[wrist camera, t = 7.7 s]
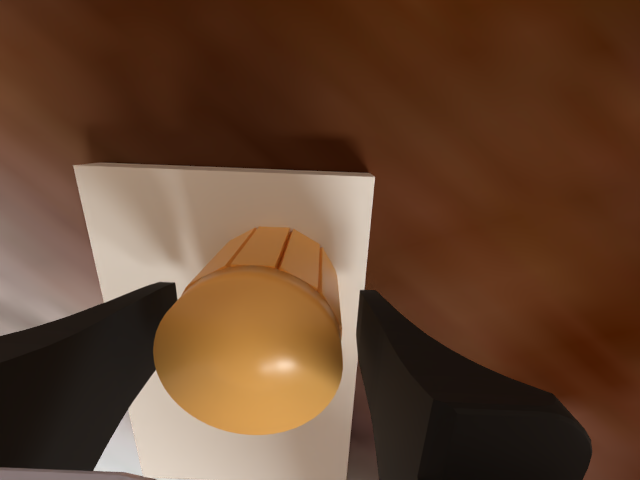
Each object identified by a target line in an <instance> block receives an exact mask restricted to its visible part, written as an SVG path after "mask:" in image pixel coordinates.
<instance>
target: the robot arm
mask: <svg viewBox="0 0 640 480" xmlns="http://www.w3.org/2000/svg"><path fill="white" fill-rule="evenodd" d="M177 300H178V299H177V292H176V285H175V282H157V283H154V284H151V285H148V286H145V287H142V288H140V289H137V290H135V291H132V292H130V293H127V294H125V295H122V296H120V297H117V298H115V299H112V300H110V301H108V302H105V303H103V304H100V305H97V306H95V307H92V308H89V309H87V310H84V311H81V312H79V313H76V314H73V315H71V316H68V317H65V318H62V319H59V320H56V321H53V322H50V323H46V324H43V325H40V326H37V327H33V328H30V329H26V330H23V331H19V332H15V333H11V334H7V335H3V336H0V480H156V479H152V478H148V477H143V476H139V475H134V474H129V473H125V472H103V471H93V470H94V468H95V466H96V464H97V462H98V461H99V459H100V457H101V455H102V453H103V451H104V449H105V448H106V446H107V444H108V442H109V440H110V439H111V437H112V435H113V434H114V432H115V430H116V428H117V427H118V425H119V423H120V421H121V420H122V418H123V416H124V415H125V413H126V412H127V410H128V409H129V407H130V406H131V404H132V402H133V401H134V400H135V398H136V397H137V395H138V394H139V393H140V391H141V390H142V388H143V387H144V386H145V384H146V383H147V381H148V380H149V379H150V377H151V376H152V375H153V373H154V372H155V370H156V368H155V364H154V356H153V346H154V339H155V334H156V331H157V329H158V326H159V324H160V322H161V320H162V319H163V317H164V315H165V314H166V312H167V311H168V310H169V309H170V308H171V307H172V306H173V305H174V304H175V302H176V301H177ZM356 342H357V352H358V360H359V364H360V369H361V373H362V378H363V382H364V386H365V391H366V395H367V400H368V404H369V409H370V413H371V419H372V424H373V432H374V440H375V448H376V456H377V465H378V473H379V480H583V477H584V475H585V473H586V471H587V469H588V466H589V463H590V459H591V455H592V446H591V439H590V438H589V436H588V434H587V432H586V431H585V429H584V428H583V427H582V426H581V424H580V423H579V422H578V421H577V420H576V419H575V418H574V417H573V416H572V414H571V413H570V412H569V411H568V410H567V409H566V408H565V407H564V406H563V404H562V403H561V402H560V401H559V400H558V399H557V398H556V397H555V396H554V395H553V394H552V393H549V392H546V391H543V390H541V389H538V388H535V387H532V386H530V385H527V384H524V383H521V382H519V381H516V380H513V379H511V378H508V377H506V376H504V375H501V374H499V373H497V372H494V371H492V370H490V369H488V368H485V367H483V366H481V365H479V364H477V363H475V362H473V361H471V360H469V359H467V358H465V357H463V356H461V355H460V354H458V353H456V352H454V351H452V350H451V349H449V348H447V347H445V346H444V345H442V344H441V343H439V342H438V341H436V340H435V339H433V338H431V337H430V336H428V335H427V334H426V333H424V332H423V331H421V330H420V329H419V328H418V327H416V326H415V325H414V324H412V323H411V322H410V321H409V320H408V319H406V318H405V317H404V316H403V315H402V314H400V313H399V312H398V311H397V310H396V309H395V308H394V307H393V306H392V305H391V304H390V303H389V302H387V301H386V300H385V299H384V298H383V297H382V296H381V295H380V294H379V293H378V292H377V291H376V290H360V294H359V305H358V316H357V327H356Z"/></svg>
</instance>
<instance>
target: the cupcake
mask: <svg viewBox="0 0 640 480" xmlns="http://www.w3.org/2000/svg"><path fill="white" fill-rule="evenodd" d="M341 339H342V322H341V312H340V301H339V291H338V280H337V274H336V270H335V268H334V267H333V265H332V263H331V261H330V259H329V258H328V256H327V254H326V252H325V251H324V249H323V247H321V248H320V244H319V243H317V242H315V241H314V240H312V239H310V238H308V237H307V236H305V235H303V234H302V233H300V232H298V231H297V230H295V229H293V231H292V232H291V234H290V228H288V227H261V226H259V227H258V228H257V229H256V228H253V229H251V230H249V231H247V232H245V233H243V234H241V235H240V236H238V237H236V238H234V239H232V240H230V241H229V242H228V243H227V244H226V245H225V246H224V247H223V248H222V249H221V250H220V251H219V252H218V253H217V254H216V256H215V257H214V258H213V259H212V260H211V261H210V262H209V263H208V264H207V265H206V266H205V267H204V268H203V269H202V270H201V272H200V273H199V274H198V275H197V276H196V277H195V278H194V279H193V280H192V281H191V282H190V283H189V284H188V285H187V286H186V288H185V290H184V291H183V293H182V295H181V297H180V298H179V299H178V300H177V301H176V302H175V304H174V305H173V306H172V307H171V308H170V309H169V310H168V311H167V312H166V314H165V315H164V317H163V319H162V320H161V322H160V324H159V326H158V329H157V331H156V334H155V339H154V346H153V356H154V364H155V368H156V371H157V374H158V376H159V379H160V381H161V383H162V385H163V386H164V388H165V390H166V391H167V393H168V394H169V395H170V396H171V398H172V399H173V400H174V401H175V402H176V403H177V404H178V405H179V406H180V407H181V408H182V409H184V410H185V411H186V412H187V413H189V414H190V415H192V416H193V417H195V418H196V419H198V420H200V421H202V422H204V423H206V424H207V425H210V426H212V427H215V428H218V429H221V430H224V431H228V432H232V433H237V434H245V435H268V434H276V433H280V432H285V431H288V430H291V429H294V428H297V427H299V426H301V425H303V424H305V423H307V422H308V421H310V420H312V419H313V418H315V417H316V416H317V415H318V414H320V413H321V412H322V411H323V410H324V409H325V408H326V407H327V406H328V405H329V403H330V402H331V400H332V399H333V398H334V396H335V394H336V392H337V390H338V388H339V385H340V382H341V378H342V371H343V356H342V344H341Z"/></svg>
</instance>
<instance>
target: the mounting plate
mask: <svg viewBox="0 0 640 480" xmlns="http://www.w3.org/2000/svg"><path fill="white" fill-rule="evenodd" d="M73 167H74V172H75V176H76V180H77V185H78V189H79V194H80V198H81V203H82V207H83V212H84V216H85V220H86V225H87V229H88V234H89V238H90V243H91V247H92V252H93V256H94V260H95V265H96V269H97V274H98V278H99V283H100V287H101V291H102V296H103V300H104V303H105V302H108V301H110V300H112V299H115V298H117V297H120V296H122V295H125V294H127V293H130V292H132V291H135V290H137V289H140V288H142V287H145V286H148V285H151V284H154V283H157V282H175V285H176V292H177V299H179V298H180V297H181V295H182V293H183V291H184V290H185V288H186V286H187V285H188V284H189V283H190V282H191V281H192V280H193V279H194V278H195V277H196V276H197V275H198V274H199V273H200V272H201V270H202V269H203V268H204V267H205V266H206V265H207V264H208V263H209V262H210V261H211V260H212V259H213V258H214V257H215V256H216V254H217V253H218V252H219V251H220V250H221V249H222V248H223V247H224V246H225V245H226V244H227V243H228V242H229V241H230V240H232V239H234V238H236V237H238V236H240V235H241V234H243V233H245V232H247V231H249V230H251V229H253V228H256V229H257V228H258V227H259V226H261V227H288V228H290V234H291V232H292V231H293V229H295V230H297V231H298V232H300V233H302V234H303V235H305V236H307V237H308V238H310V239H312V240H314V241H315V242H317V243H319V244H320V248H321V247H323V249H324V251H325V252H326V254H327V256H328V258H329V259H330V261H331V263H332V265H333V267H334V268H335V270H336V274H337V280H338V291H339V301H340V312H341V322H342V339H341V344H342V356H343V371H342V378H341V382H340V385H339V388H338V390H337V392H336V394H335V396H334V398H333V399H332V400H331V402H330V403H329V405H328V406H327V407H326V408H325V409H324V410H323V411H322V412H321V413H320V414H318V415H317V416H316V417H315V418H313V419H312V420H310V421H308V422H307V423H305V424H303V425H301V426H299V427H297V428H294V429H291V430H288V431H285V432H280V433H276V434H268V435H245V434H237V433H232V432H228V431H224V430H221V429H218V428H215V427H212V426H210V425H207V424H206V423H204V422H202V421H200V420H198V419H196V418H195V417H193V416H192V415H190V414H189V413H187V412H186V411H185V410H184V409H182V408H181V407H180V406H179V405H178V404H177V403H176V402H175V401H174V400H173V399H172V398H171V396H170V395H169V394H168V393H167V391H166V390H165V388H164V386H163V385H162V383H161V381H160V379H159V376H158V374H157V371H156V370H155V372H154V373H153V375H152V376H151V377H150V379H149V380H148V381H147V383H146V384H145V386H144V387H143V388H142V390H141V391H140V393H139V394H138V395H137V397H136V398H135V400H134V401H133V402H132V404H131V406H130V407H129V409H128V411H129V416H130V420H131V425H132V429H133V434H134V438H135V442H136V447H137V451H138V456H139V460H140V465H141V469H142V473H143V477H149V478H174V479H199V480H346V477H347V466H348V456H349V445H350V435H351V424H352V414H353V403H354V392H355V382H356V371H357V361H358V352H357V342H356V327H357V316H358V305H359V294H360V290H364V287H365V277H366V266H367V256H368V245H369V235H370V224H371V213H372V203H373V192H374V182H375V177H374V176H373V175H372V174H370V173H357V172H332V171H306V170H280V169H254V168H229V167H203V166H177V165H152V164H126V163H90V164H81V165H73Z"/></svg>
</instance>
